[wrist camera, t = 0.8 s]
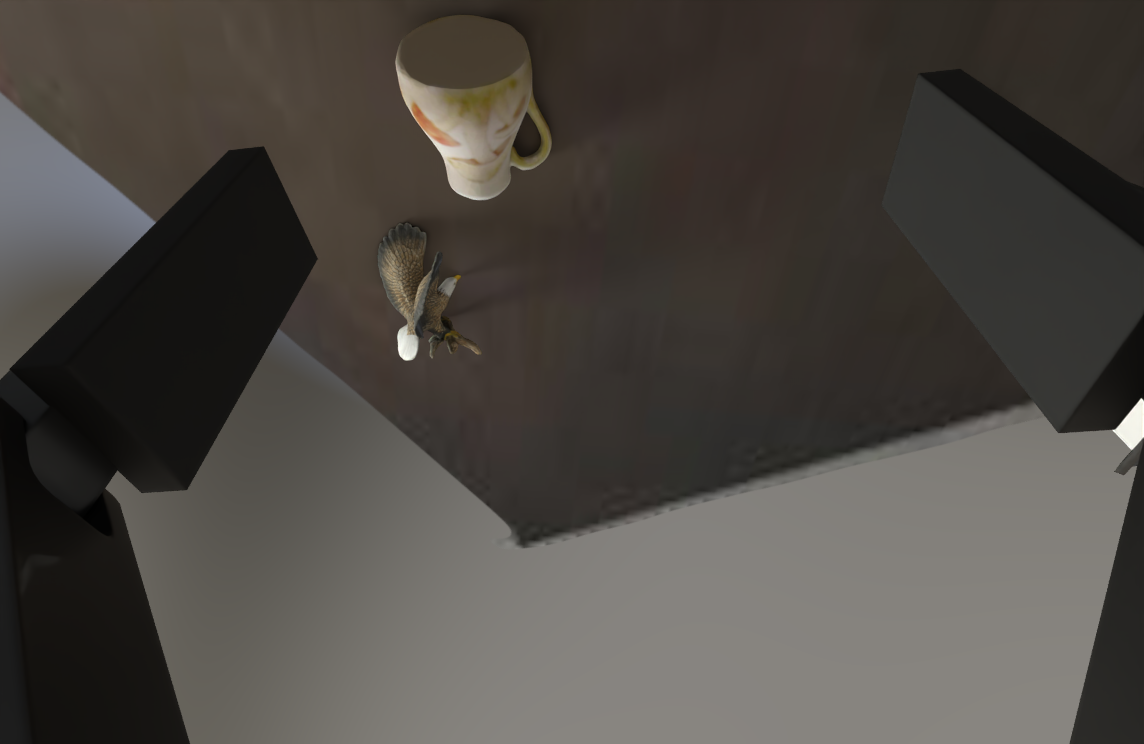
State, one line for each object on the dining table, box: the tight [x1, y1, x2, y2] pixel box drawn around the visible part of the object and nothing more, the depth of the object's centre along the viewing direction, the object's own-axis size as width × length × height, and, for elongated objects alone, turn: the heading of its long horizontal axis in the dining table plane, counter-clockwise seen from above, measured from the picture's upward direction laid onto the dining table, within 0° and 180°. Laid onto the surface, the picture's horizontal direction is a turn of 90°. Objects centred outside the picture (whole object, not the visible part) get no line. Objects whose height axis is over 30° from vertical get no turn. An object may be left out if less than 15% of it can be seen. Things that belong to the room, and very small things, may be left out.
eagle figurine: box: [377, 223, 482, 360], centre depth 43 cm, size 8×7×9 cm
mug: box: [396, 15, 552, 200], centre depth 34 cm, size 8×10×10 cm
